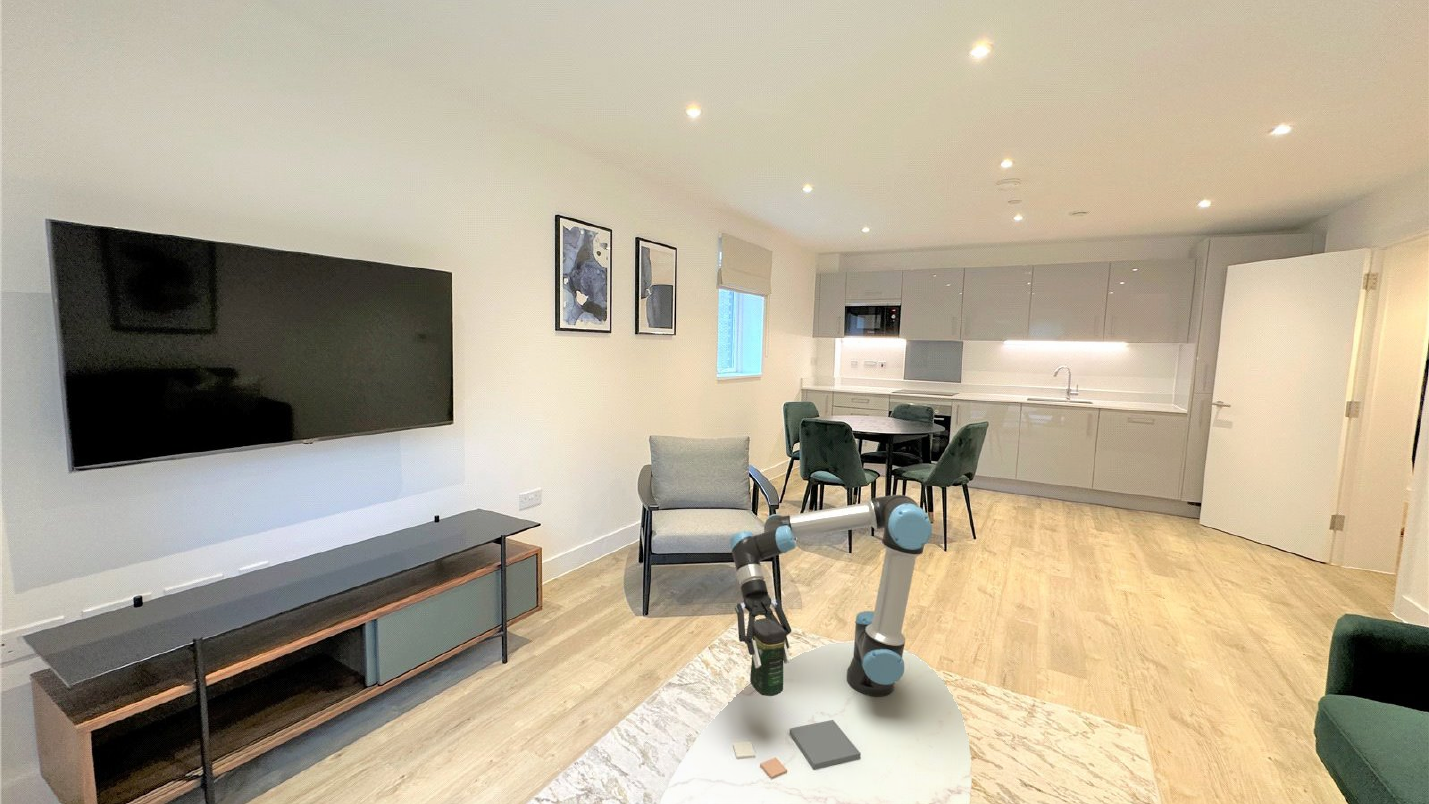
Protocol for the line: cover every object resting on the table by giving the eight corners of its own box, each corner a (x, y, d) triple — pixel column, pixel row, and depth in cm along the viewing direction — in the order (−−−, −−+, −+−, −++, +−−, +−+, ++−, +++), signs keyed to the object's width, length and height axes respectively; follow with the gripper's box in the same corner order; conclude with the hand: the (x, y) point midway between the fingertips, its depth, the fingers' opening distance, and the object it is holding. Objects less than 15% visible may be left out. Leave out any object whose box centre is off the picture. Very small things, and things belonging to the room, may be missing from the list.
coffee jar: (787, 694, 151) (790, 629, 150) (762, 700, 148) (765, 634, 146) (770, 674, 160) (772, 613, 158) (745, 680, 157) (748, 617, 155)
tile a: (775, 761, 146) (775, 757, 145) (787, 774, 141) (787, 770, 141) (759, 767, 143) (760, 763, 143) (771, 781, 139) (771, 776, 139)
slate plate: (832, 724, 160) (833, 719, 160) (860, 758, 147) (860, 753, 147) (789, 733, 156) (789, 728, 156) (813, 769, 143) (814, 764, 142)
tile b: (750, 746, 151) (750, 741, 151) (755, 759, 146) (755, 755, 146) (732, 747, 150) (733, 743, 150) (736, 761, 145) (736, 756, 145)
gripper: (779, 584, 170) (802, 662, 156) (716, 591, 163) (733, 674, 150) (788, 574, 165) (812, 654, 151) (722, 581, 158) (741, 666, 144)
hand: (772, 664), depth 150 cm, fingers closed on coffee jar, 8 cm apart
